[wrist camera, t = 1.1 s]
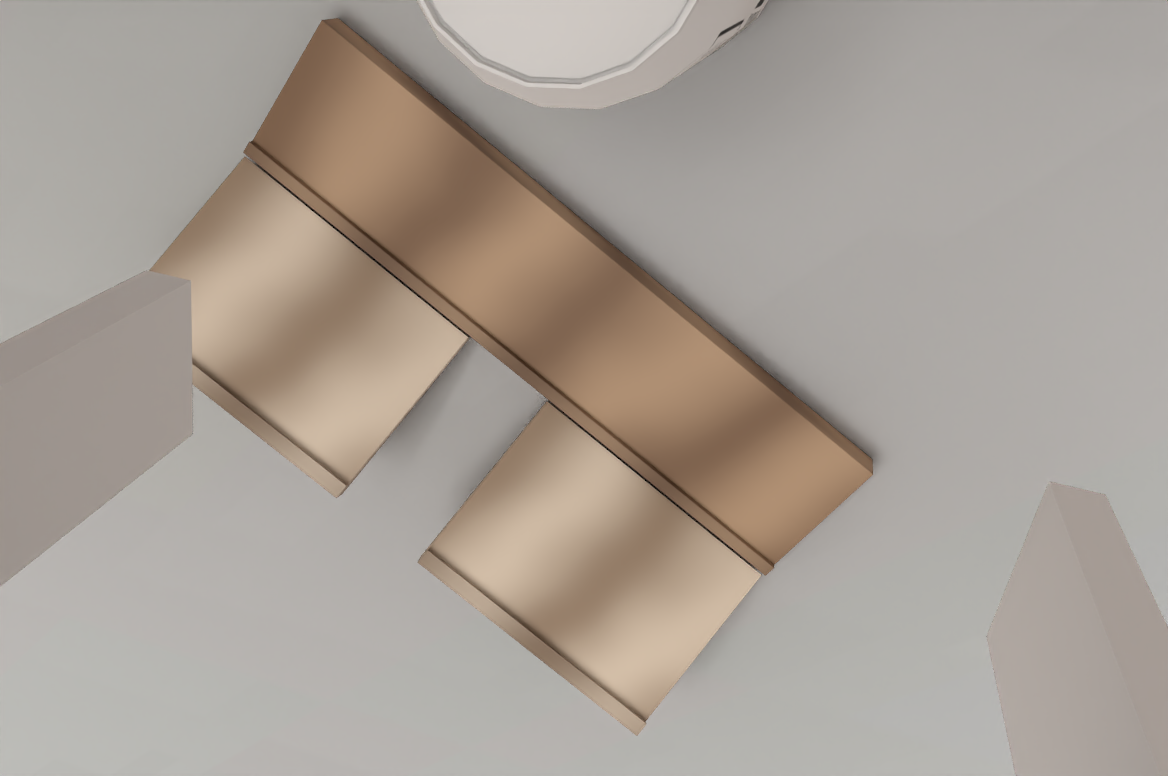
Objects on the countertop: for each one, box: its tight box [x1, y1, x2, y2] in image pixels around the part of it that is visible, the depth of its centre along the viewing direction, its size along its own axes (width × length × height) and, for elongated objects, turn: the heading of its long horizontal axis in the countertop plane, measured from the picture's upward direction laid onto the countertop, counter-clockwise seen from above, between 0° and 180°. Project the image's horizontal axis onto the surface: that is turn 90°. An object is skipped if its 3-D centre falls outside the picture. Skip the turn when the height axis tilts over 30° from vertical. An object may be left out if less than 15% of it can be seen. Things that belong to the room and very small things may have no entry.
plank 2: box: [418, 401, 761, 736], centre depth 42 cm, size 11×8×2 cm
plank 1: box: [149, 157, 469, 498], centre depth 41 cm, size 11×8×2 cm
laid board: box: [244, 18, 873, 576], centre depth 40 cm, size 26×6×2 cm, turn 52°
